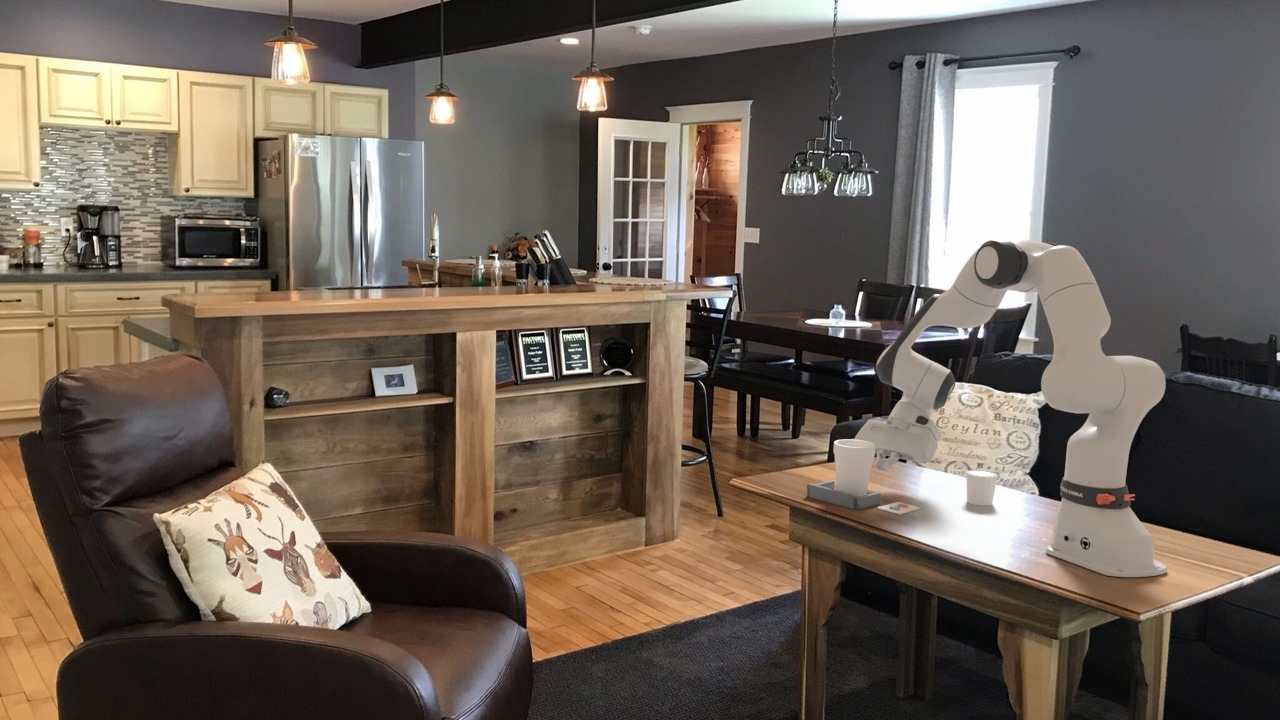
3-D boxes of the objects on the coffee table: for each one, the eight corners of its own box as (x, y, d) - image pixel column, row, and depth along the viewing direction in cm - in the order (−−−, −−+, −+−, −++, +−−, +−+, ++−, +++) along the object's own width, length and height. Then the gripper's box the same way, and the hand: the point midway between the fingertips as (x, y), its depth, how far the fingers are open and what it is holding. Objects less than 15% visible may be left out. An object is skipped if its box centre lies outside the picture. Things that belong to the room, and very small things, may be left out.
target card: (897, 503, 242) (897, 500, 242) (920, 508, 237) (920, 506, 237) (877, 508, 236) (877, 506, 236) (900, 514, 232) (900, 512, 232)
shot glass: (991, 499, 248) (993, 470, 247) (998, 507, 241) (1000, 477, 240) (961, 497, 248) (963, 468, 248) (967, 505, 242) (969, 475, 241)
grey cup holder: (830, 490, 251) (831, 478, 250) (880, 503, 241) (881, 490, 240) (806, 496, 245) (807, 483, 244) (856, 510, 235) (857, 496, 234)
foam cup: (866, 494, 249) (869, 439, 247) (877, 504, 240) (880, 448, 238) (826, 493, 248) (829, 438, 247) (835, 504, 239) (839, 447, 237)
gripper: (865, 408, 263) (839, 452, 257) (938, 422, 248) (912, 468, 243) (875, 424, 266) (849, 467, 261) (947, 438, 252) (921, 484, 246)
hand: (880, 468), depth 252 cm, fingers closed
